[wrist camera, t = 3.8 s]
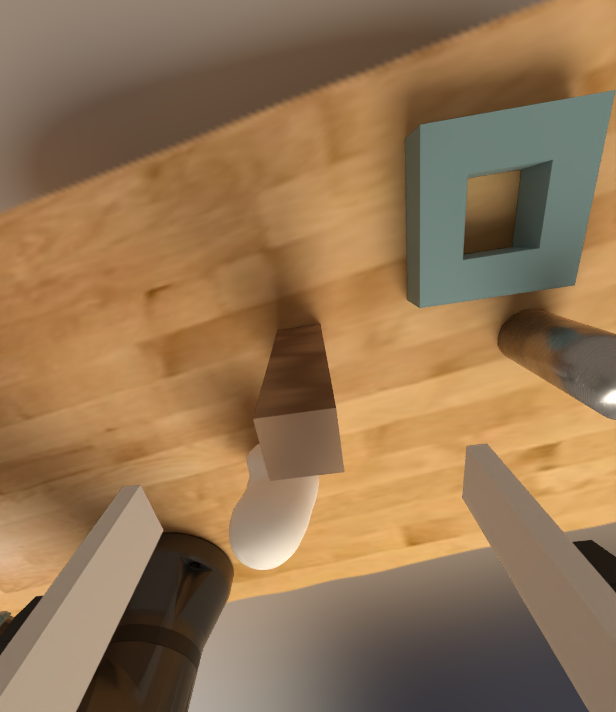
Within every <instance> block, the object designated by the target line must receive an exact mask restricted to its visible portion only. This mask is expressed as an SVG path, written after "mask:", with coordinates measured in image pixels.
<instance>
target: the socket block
mask: <svg viewBox="0 0 616 712" xmlns="http://www.w3.org/2000/svg"><path fill="white" fill-rule="evenodd" d="M614 95H615V90H613V91H607V92H602V93H596V94H590V95H585V96H579V97H573V98H568V99H562V100H556V101H551V102H545V103H539V104H534V105H528V106H522V107H517V108H511V109H505V110H500V111H494V112H488V113H483V114H477V115H471V116H466V117H460V118H455V119H449V120H443V121H438V122H432V123H426V124H421V125H419V126H418V127H417V128H416V129H415V130H414V131H413V132H412V133H411V134H410V135H409V136H408V137H407V138H406V139H405V171H406V240H407V300H408V301H409V302H411V303H413V304H414V305H416V306H417V307H419V308H424V307H430V306H437V305H444V304H451V303H457V302H464V301H471V300H478V299H485V298H491V297H498V296H505V295H512V294H518V293H525V292H532V291H539V290H546V289H552V288H559V287H566V286H573V285H575V282H576V277H577V272H578V267H579V263H580V258H581V253H582V248H583V244H584V239H585V234H586V229H587V224H588V220H589V215H590V210H591V205H592V200H593V196H594V191H595V186H596V181H597V176H598V172H599V167H600V162H601V157H602V152H603V148H604V143H605V138H606V133H607V128H608V124H609V119H610V114H611V109H612V105H613V100H614ZM521 169H522V170H521ZM515 170H521V178H520V186H519V195H518V203H517V212H516V220H515V228H514V237H513V245H512V247H509V248H502V249H496V250H489V251H483V252H476V253H470V254H463V249H464V232H465V214H466V197H467V180H468V178H473V177H479V176H485V175H491V174H497V173H503V172H509V171H515Z"/></svg>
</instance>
